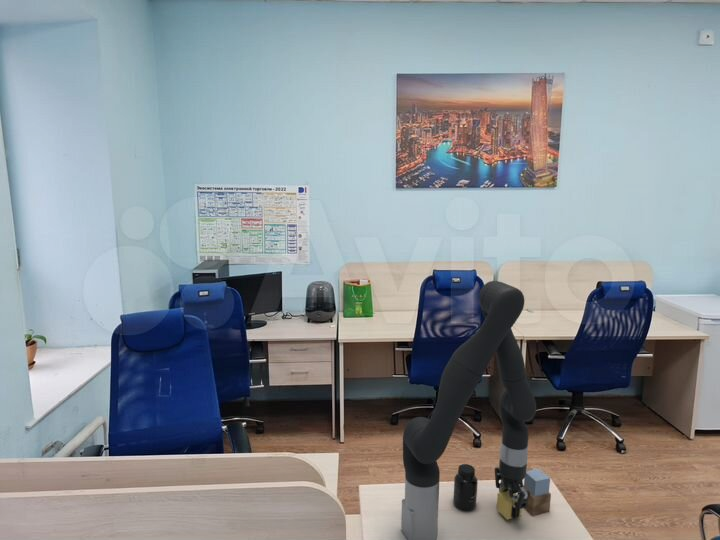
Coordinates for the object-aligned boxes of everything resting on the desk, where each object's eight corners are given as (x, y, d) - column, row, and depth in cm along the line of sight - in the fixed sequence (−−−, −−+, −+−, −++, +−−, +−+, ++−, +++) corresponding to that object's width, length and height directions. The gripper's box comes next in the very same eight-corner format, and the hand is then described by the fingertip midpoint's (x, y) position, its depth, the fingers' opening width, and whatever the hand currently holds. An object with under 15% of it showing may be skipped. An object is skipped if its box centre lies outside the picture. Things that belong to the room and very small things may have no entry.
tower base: (532, 516, 146) (533, 498, 145) (519, 503, 151) (521, 486, 150) (549, 512, 148) (551, 494, 147) (536, 499, 153) (537, 482, 152)
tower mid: (534, 496, 145) (535, 481, 144) (523, 486, 150) (524, 471, 149) (548, 493, 147) (550, 478, 146) (537, 483, 152) (538, 468, 151)
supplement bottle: (476, 513, 147) (478, 476, 145) (452, 510, 148) (454, 473, 146) (476, 498, 154) (477, 463, 151) (453, 495, 155) (454, 460, 153)
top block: (506, 519, 143) (508, 503, 142) (496, 508, 148) (497, 493, 147) (521, 516, 145) (522, 500, 144) (511, 505, 149) (512, 490, 148)
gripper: (488, 447, 148) (484, 498, 151) (517, 474, 135) (513, 530, 138) (509, 443, 151) (505, 493, 154) (540, 469, 137) (535, 524, 140)
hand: (509, 510), depth 146 cm, fingers closed on top block, 5 cm apart
